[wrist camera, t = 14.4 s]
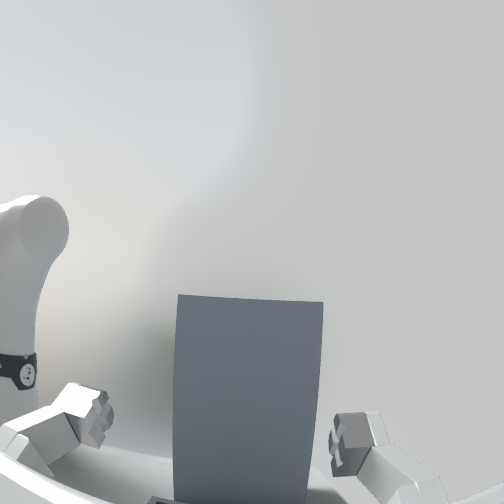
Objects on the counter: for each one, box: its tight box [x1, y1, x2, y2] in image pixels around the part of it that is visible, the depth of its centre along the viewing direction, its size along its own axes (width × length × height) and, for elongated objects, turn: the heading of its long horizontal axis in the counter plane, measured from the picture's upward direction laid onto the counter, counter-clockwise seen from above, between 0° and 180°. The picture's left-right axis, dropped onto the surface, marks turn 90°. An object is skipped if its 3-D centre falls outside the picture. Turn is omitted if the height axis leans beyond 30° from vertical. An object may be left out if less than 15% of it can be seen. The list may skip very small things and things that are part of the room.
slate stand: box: [173, 294, 323, 504], centre depth 32 cm, size 14×10×26 cm
